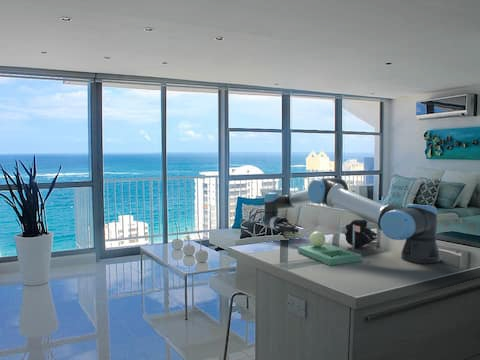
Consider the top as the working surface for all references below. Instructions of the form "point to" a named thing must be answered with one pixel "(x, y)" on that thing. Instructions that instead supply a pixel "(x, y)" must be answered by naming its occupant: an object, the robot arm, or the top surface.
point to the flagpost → (355, 228)
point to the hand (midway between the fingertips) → (303, 231)
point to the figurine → (359, 233)
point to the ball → (317, 239)
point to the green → (330, 254)
